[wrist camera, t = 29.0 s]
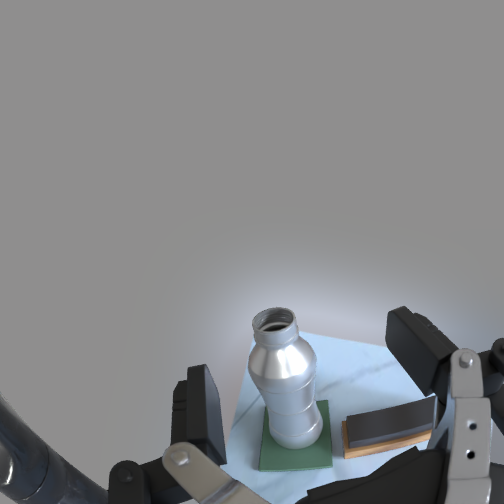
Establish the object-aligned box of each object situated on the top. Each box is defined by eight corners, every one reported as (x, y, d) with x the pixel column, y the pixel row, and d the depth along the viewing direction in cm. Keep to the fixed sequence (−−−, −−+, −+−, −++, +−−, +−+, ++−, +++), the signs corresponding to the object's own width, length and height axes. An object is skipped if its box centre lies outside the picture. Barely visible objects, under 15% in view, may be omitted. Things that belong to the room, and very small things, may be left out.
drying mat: (259, 471, 27) (258, 470, 27) (266, 407, 37) (265, 405, 37) (332, 467, 26) (332, 465, 25) (327, 401, 36) (327, 399, 35)
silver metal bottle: (322, 454, 27) (313, 342, 20) (268, 453, 29) (226, 345, 22) (324, 414, 33) (314, 295, 26) (275, 415, 35) (243, 300, 27)
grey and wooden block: (344, 459, 26) (345, 446, 25) (341, 428, 31) (342, 413, 29) (446, 433, 24) (455, 418, 22) (436, 406, 28) (444, 389, 27)
